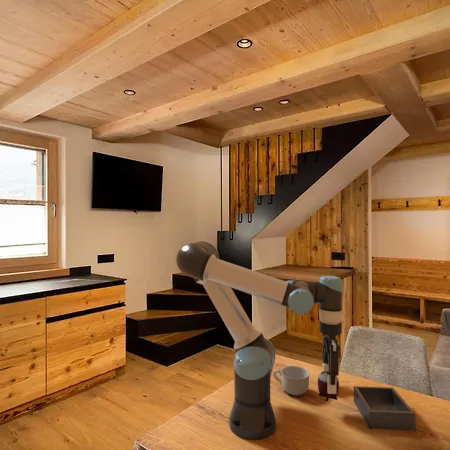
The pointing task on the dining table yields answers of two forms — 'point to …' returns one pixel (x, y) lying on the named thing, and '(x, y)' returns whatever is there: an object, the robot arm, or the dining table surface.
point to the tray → (384, 408)
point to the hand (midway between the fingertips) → (329, 387)
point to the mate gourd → (326, 386)
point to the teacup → (293, 379)
